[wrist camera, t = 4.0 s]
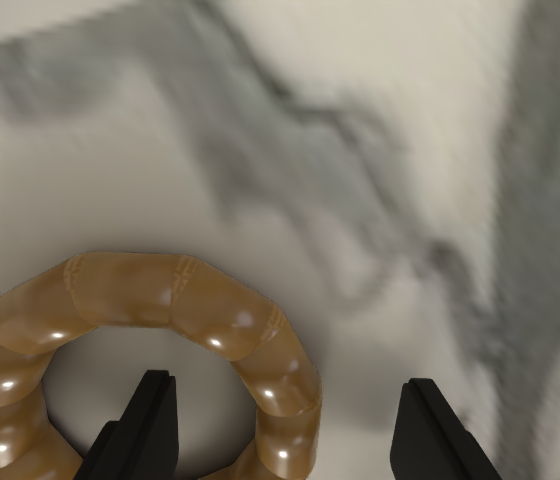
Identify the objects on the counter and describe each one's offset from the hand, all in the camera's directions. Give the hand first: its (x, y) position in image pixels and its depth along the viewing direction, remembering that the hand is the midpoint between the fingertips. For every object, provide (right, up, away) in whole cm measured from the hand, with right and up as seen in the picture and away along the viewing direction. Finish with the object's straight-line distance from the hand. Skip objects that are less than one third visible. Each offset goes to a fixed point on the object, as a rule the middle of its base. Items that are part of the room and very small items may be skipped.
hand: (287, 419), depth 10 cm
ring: (-4, 0, 0) cm, 4 cm away
